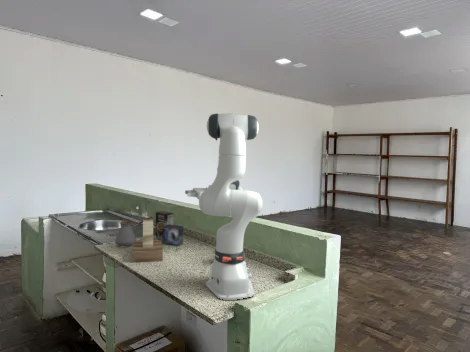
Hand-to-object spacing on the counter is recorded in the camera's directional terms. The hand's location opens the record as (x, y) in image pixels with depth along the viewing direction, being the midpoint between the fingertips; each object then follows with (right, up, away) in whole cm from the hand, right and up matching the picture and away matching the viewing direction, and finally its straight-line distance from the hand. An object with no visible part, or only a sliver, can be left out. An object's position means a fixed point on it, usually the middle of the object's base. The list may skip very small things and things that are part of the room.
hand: (186, 193), depth 170 cm
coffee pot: (-32, -30, +17) cm, 47 cm away
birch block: (-19, -27, -3) cm, 33 cm away
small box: (-11, -31, +19) cm, 38 cm away
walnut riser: (-19, -32, -3) cm, 37 cm away
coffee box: (-18, -30, +31) cm, 46 cm away
